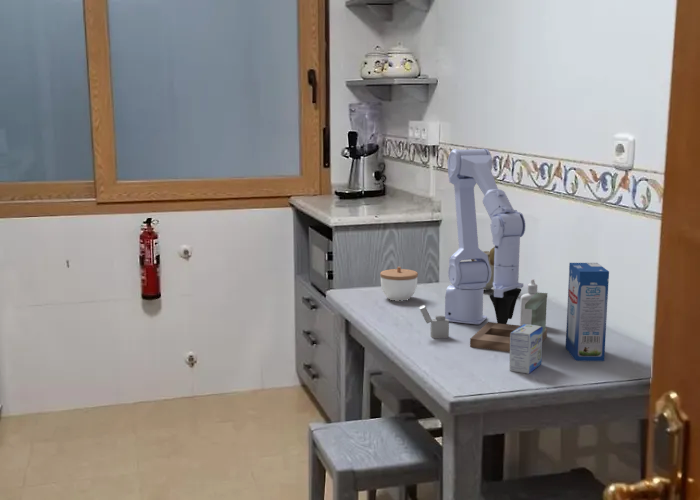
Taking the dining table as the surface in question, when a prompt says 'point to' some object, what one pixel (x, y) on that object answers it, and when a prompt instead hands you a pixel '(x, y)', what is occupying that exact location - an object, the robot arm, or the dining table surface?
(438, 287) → the dining table surface
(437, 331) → the lighter
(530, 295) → the eye dropper bottle
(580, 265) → the milk carton
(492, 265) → the ceramic sculpture
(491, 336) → the socket board
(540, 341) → the medicine box
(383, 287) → the lidded jar
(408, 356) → the dining table surface
